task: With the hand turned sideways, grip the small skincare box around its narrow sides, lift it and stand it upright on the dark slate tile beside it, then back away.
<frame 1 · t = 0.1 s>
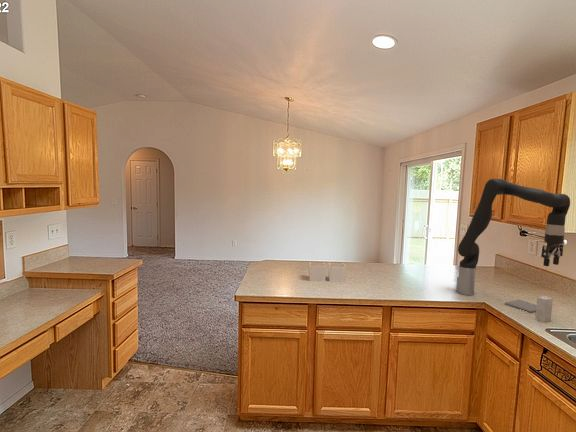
hand: (550, 265, 164), 29 cm above the counter, fingers open, 8 cm apart
skincare box: (542, 320, 168), on the counter
slate tile: (524, 306, 186), on the counter
storage container: (326, 279, 232), on the counter
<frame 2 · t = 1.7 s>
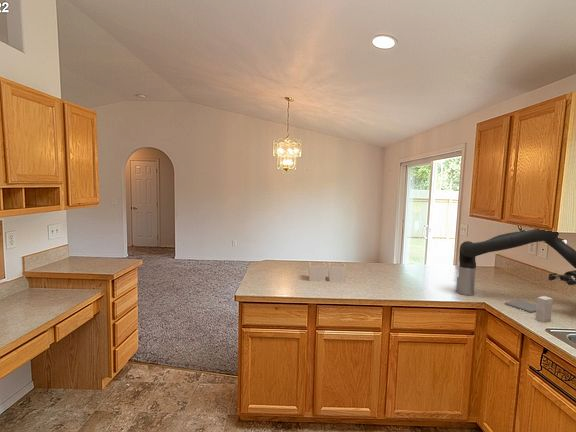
hand: (558, 280, 171), 20 cm above the counter, fingers open, 8 cm apart
nothing on the counter moved.
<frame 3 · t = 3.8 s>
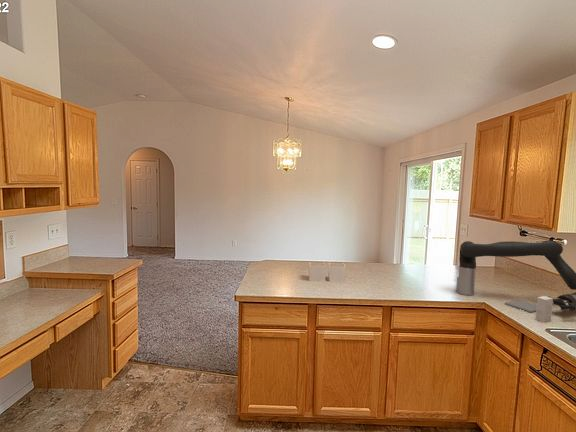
hand: (551, 305, 170), 7 cm above the counter, fingers open, 8 cm apart
nothing on the counter moved.
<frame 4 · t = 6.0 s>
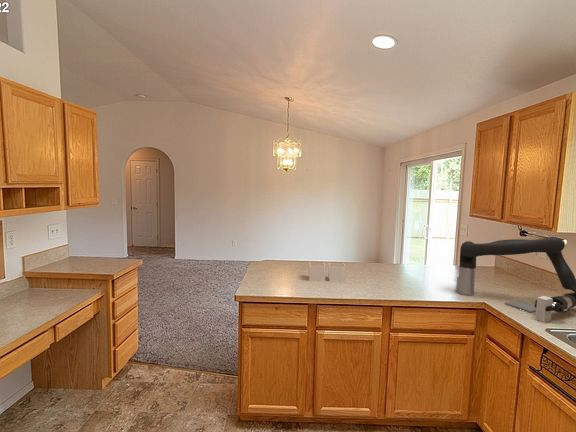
hand: (541, 307, 166), 7 cm above the counter, fingers closed on skincare box, 4 cm apart
skincare box: (542, 320, 168), on the counter, touching gripper
everything else where it was.
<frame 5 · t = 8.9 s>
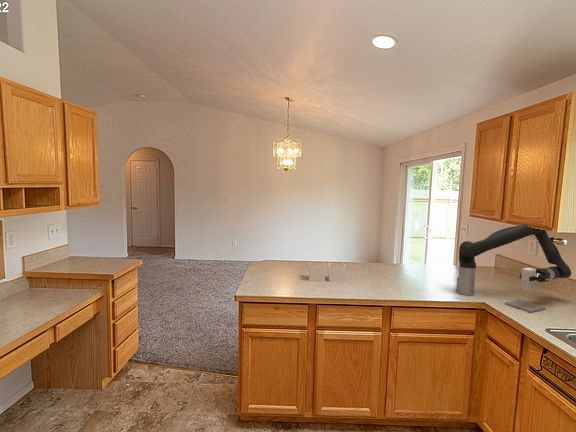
hand: (525, 277, 182), 18 cm above the counter, fingers closed on skincare box, 4 cm apart
skincare box: (527, 289, 184), point 10 cm above the counter, touching gripper
everything else where it was.
when the fingers open (9 cm above the counter, at t = 11.6 s): skincare box stays where it is, resting on slate tile.
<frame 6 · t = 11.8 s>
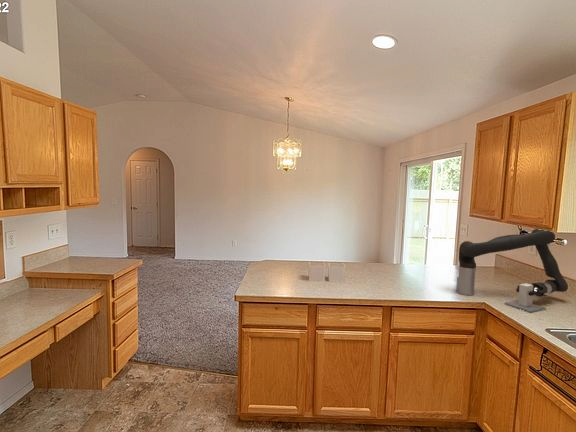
hand: (523, 292, 184), 9 cm above the counter, fingers open, 6 cm apart
skincare box: (524, 305, 186), point 1 cm above the counter, touching slate tile
everything else where it was.
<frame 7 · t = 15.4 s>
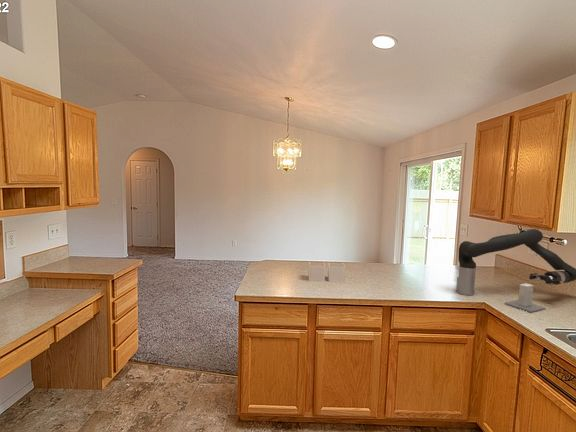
hand: (538, 279, 189), 15 cm above the counter, fingers open, 8 cm apart
nothing on the counter moved.
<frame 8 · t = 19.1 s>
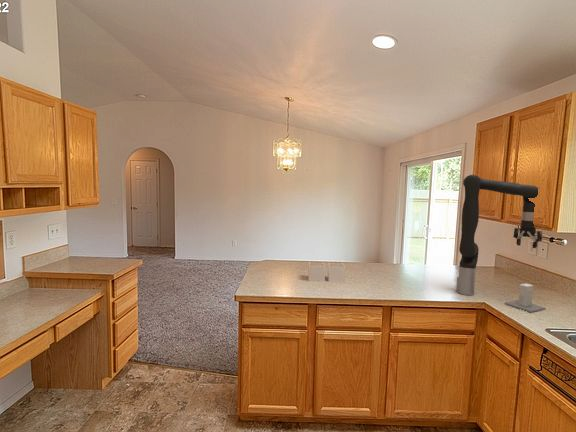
hand: (526, 246, 193), 33 cm above the counter, fingers open, 8 cm apart
nothing on the counter moved.
at the end: skincare box inside the target area on the slate tile (0.1 cm from its centre), point 0.8 cm above the slate tile's base; skincare box tilted 0°; the gripper is holding nothing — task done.
